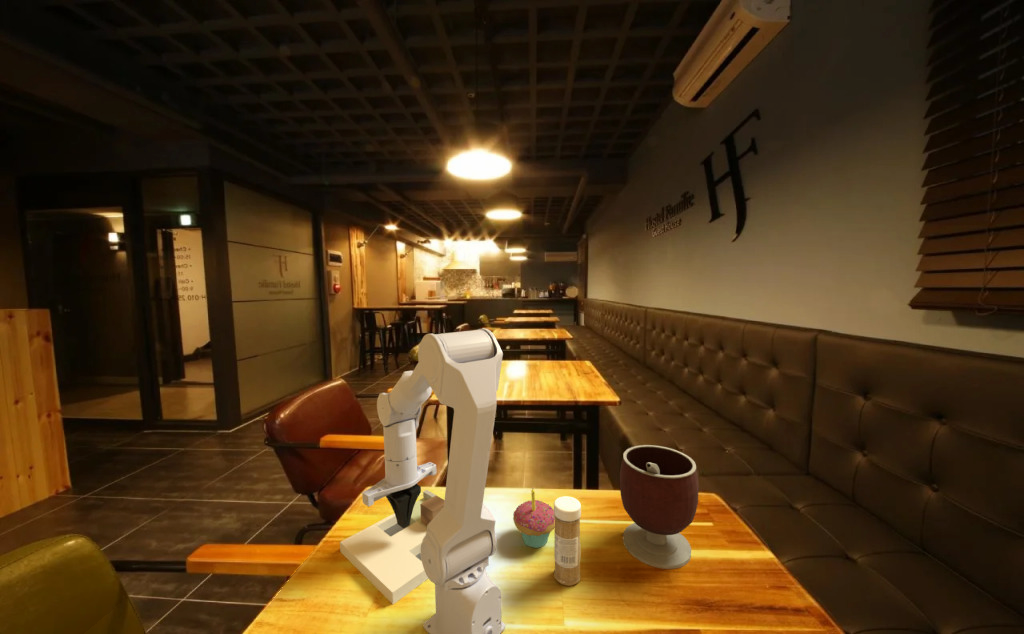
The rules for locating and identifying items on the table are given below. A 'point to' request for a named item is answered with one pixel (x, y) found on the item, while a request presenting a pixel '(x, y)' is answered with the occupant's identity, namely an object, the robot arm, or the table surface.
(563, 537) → the sprinkles bottle
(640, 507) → the mate gourd
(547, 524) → the cupcake
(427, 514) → the walnut block
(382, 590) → the board
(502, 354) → the robot arm
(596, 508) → the table surface
